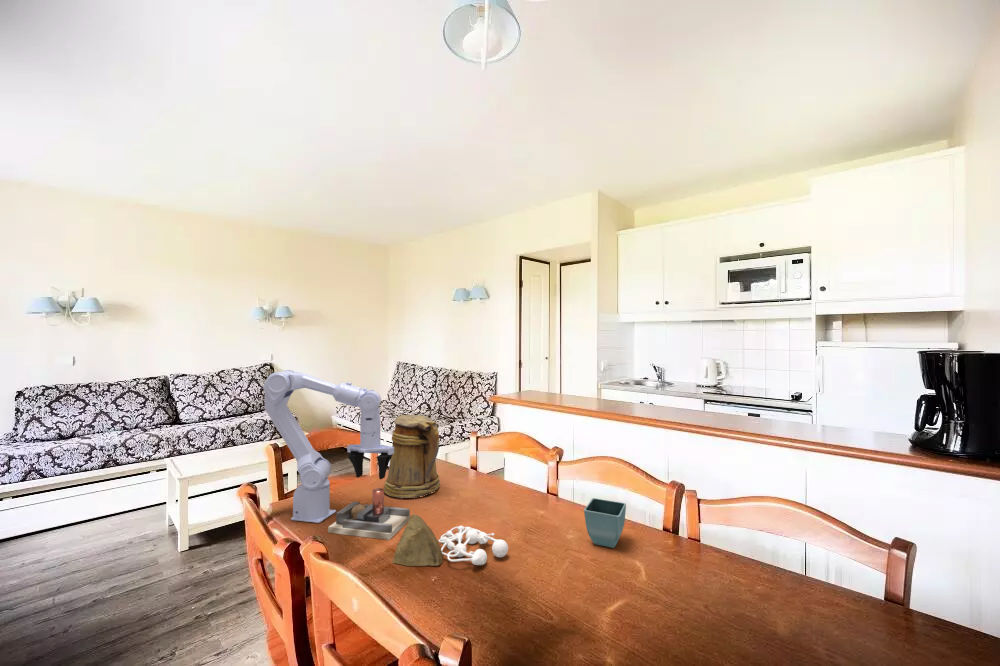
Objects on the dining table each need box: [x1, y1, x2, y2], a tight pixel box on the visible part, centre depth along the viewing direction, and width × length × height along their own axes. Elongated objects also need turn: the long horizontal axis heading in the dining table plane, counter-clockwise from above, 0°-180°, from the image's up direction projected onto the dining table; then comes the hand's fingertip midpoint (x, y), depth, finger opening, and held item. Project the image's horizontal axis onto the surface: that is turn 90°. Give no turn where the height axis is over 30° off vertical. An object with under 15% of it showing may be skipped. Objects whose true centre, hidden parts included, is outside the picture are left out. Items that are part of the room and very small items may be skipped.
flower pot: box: [583, 497, 627, 549], centre depth 102 cm, size 9×9×9 cm
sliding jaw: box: [357, 487, 390, 523], centre depth 111 cm, size 6×8×8 cm
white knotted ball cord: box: [438, 525, 509, 566], centre depth 99 cm, size 19×14×4 cm
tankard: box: [383, 414, 441, 499], centre depth 138 cm, size 18×24×25 cm
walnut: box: [351, 503, 365, 520], centre depth 112 cm, size 4×4×4 cm
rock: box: [392, 513, 444, 567], centre depth 93 cm, size 11×9×10 cm
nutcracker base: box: [327, 501, 411, 541], centre depth 112 cm, size 18×12×4 cm, turn 76°
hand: (370, 477), depth 121 cm, fingers open, 7 cm apart
